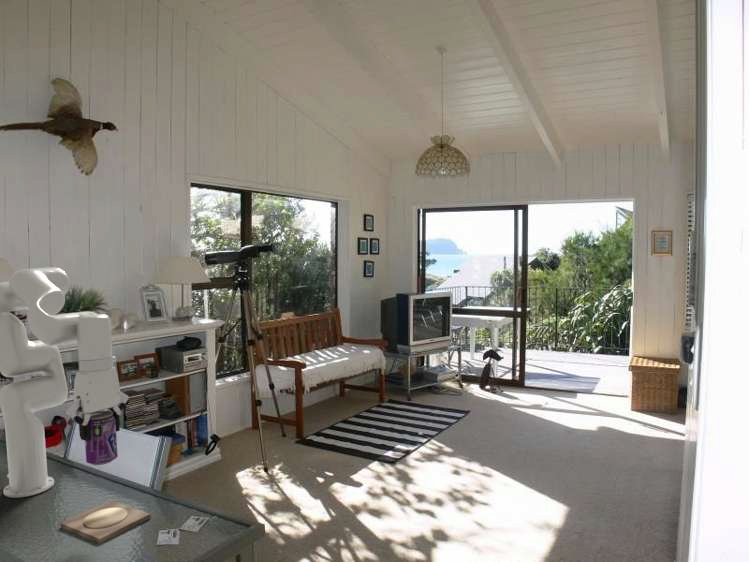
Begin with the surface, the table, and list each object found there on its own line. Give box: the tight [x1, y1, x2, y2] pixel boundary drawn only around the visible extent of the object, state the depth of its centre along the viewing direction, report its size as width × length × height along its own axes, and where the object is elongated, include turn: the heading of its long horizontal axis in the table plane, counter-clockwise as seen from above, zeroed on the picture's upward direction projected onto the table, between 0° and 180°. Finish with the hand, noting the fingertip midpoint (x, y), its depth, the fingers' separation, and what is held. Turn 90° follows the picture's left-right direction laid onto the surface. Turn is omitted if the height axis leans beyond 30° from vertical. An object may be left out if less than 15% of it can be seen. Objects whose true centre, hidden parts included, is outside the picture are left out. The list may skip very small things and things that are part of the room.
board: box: [60, 500, 152, 545], centre depth 147 cm, size 16×14×2 cm
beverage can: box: [84, 410, 119, 466], centre depth 145 cm, size 7×7×12 cm
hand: (100, 434), depth 145 cm, fingers closed on beverage can, 7 cm apart
